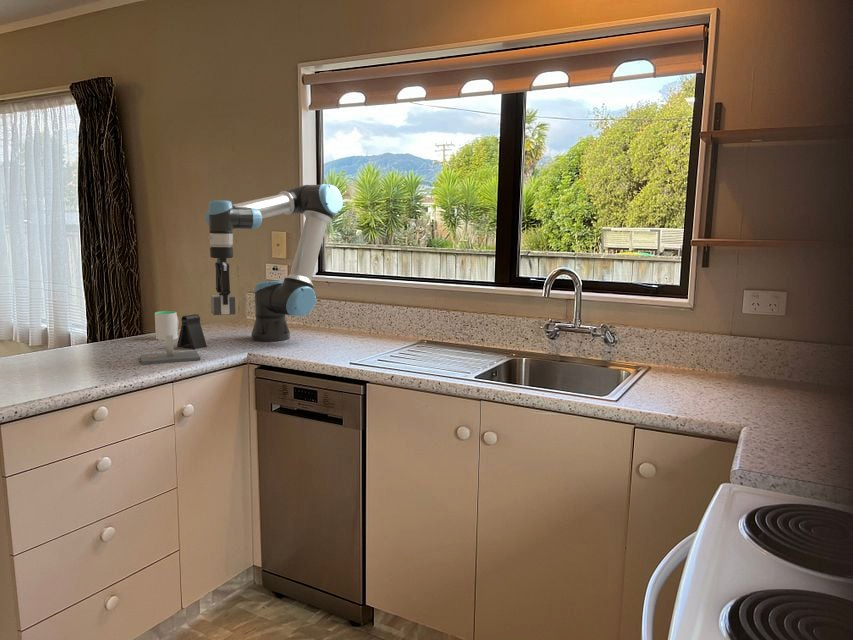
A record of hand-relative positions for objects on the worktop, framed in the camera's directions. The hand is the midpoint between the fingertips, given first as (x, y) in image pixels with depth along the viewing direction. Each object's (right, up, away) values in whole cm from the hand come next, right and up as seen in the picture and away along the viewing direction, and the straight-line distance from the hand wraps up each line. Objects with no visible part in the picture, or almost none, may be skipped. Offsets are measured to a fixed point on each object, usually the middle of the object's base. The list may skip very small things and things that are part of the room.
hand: (223, 312), depth 219 cm
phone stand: (-17, -13, +15) cm, 26 cm away
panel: (-16, -16, -6) cm, 23 cm away
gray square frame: (0, 0, 0) cm, 0 cm away
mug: (-33, -10, +34) cm, 48 cm away
